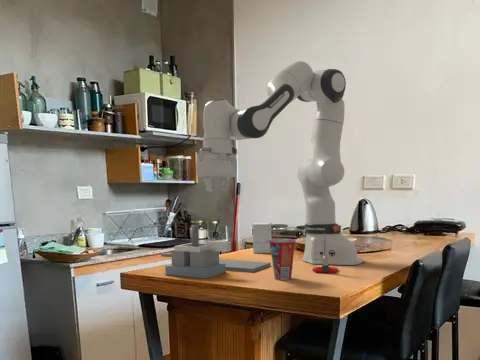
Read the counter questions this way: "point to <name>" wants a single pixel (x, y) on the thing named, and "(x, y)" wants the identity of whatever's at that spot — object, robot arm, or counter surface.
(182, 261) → the vise
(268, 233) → the supplement box
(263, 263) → the mat
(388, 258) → the counter surface
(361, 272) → the counter surface
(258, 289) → the counter surface
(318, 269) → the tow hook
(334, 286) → the counter surface
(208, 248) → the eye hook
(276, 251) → the cup
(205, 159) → the robot arm
